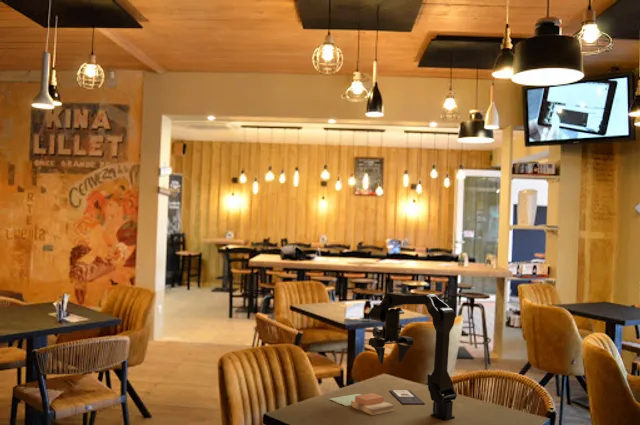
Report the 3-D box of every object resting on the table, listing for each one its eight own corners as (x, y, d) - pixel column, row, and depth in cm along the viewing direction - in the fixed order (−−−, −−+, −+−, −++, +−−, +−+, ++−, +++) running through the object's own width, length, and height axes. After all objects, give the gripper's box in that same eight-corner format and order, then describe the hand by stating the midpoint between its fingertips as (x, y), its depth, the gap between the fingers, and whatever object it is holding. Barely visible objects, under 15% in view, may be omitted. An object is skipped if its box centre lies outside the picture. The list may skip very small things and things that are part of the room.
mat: (375, 401, 241) (375, 400, 241) (346, 406, 232) (346, 405, 232) (358, 394, 249) (358, 393, 249) (329, 399, 239) (329, 398, 239)
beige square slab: (394, 410, 230) (394, 405, 230) (372, 415, 223) (372, 409, 223) (372, 402, 239) (372, 397, 239) (350, 406, 232) (351, 401, 232)
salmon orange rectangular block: (383, 402, 233) (383, 396, 233) (365, 405, 228) (365, 400, 228) (372, 398, 238) (372, 392, 238) (354, 401, 232) (355, 396, 232)
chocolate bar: (402, 403, 238) (389, 390, 256) (402, 405, 238) (389, 392, 256) (424, 403, 240) (410, 390, 258) (424, 405, 240) (410, 392, 258)
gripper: (398, 320, 257) (397, 357, 257) (361, 321, 248) (359, 360, 248) (415, 324, 248) (413, 363, 247) (377, 326, 239) (375, 366, 238)
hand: (390, 363), depth 245 cm, fingers open, 9 cm apart
